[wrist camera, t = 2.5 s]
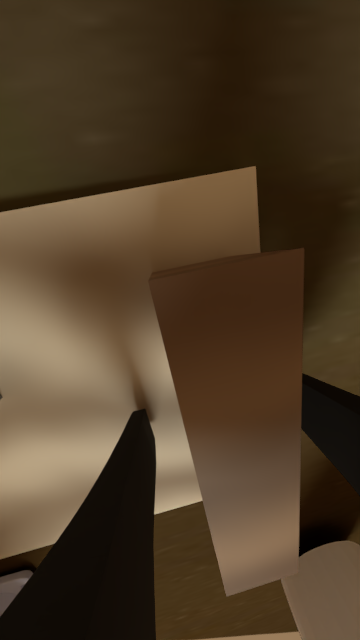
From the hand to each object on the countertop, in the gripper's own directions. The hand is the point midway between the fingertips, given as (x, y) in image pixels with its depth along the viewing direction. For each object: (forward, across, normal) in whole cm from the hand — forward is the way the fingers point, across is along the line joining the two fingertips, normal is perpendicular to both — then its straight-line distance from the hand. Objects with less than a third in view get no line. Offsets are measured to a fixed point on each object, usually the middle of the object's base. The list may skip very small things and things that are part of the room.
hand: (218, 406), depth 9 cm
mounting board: (+1, +8, -1) cm, 8 cm away
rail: (+1, 0, 0) cm, 1 cm away
